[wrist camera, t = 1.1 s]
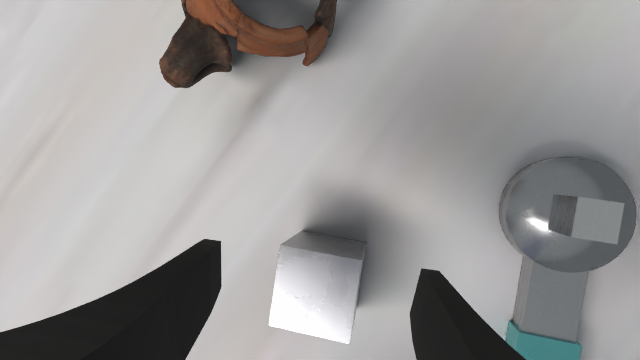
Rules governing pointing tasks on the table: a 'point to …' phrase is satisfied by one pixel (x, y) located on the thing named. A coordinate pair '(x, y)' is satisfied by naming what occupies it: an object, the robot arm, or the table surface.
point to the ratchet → (561, 247)
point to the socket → (318, 285)
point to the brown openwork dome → (252, 37)
